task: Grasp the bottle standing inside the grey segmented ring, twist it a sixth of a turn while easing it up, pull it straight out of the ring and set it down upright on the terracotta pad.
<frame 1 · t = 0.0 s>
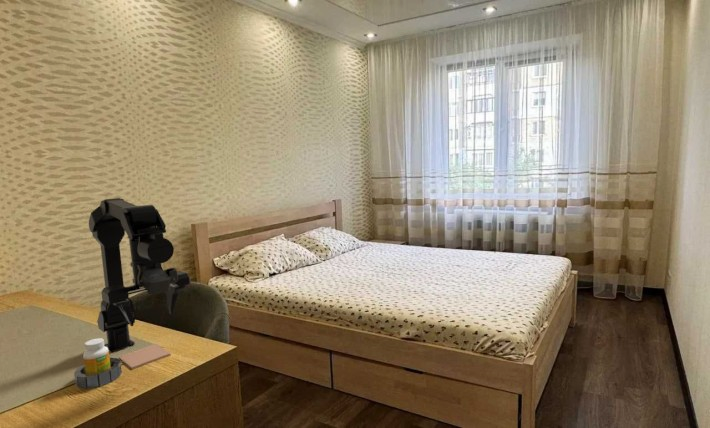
hand: (152, 319, 100), 15 cm above the table, tool pointing down, fingers open, 9 cm apart
terracotta pad: (144, 356, 113), on the table
supplement bottle: (99, 379, 103), resting in grey segmented ring
grey segmented ring: (99, 378, 103), on the table
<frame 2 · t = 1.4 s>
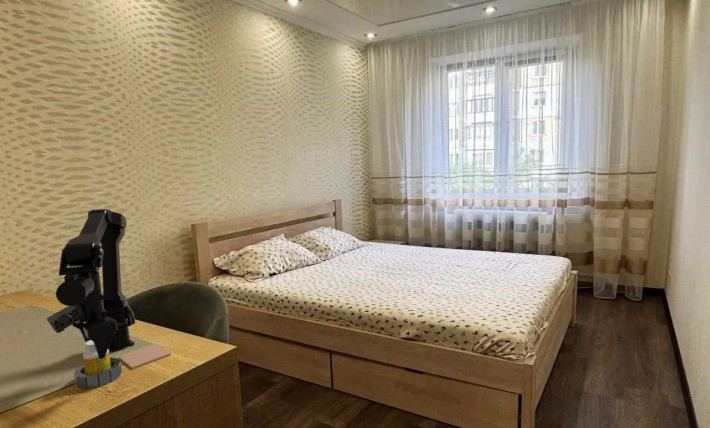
hand: (96, 353, 102), 7 cm above the table, tool pointing down, fingers open, 9 cm apart
nothing on the table moved.
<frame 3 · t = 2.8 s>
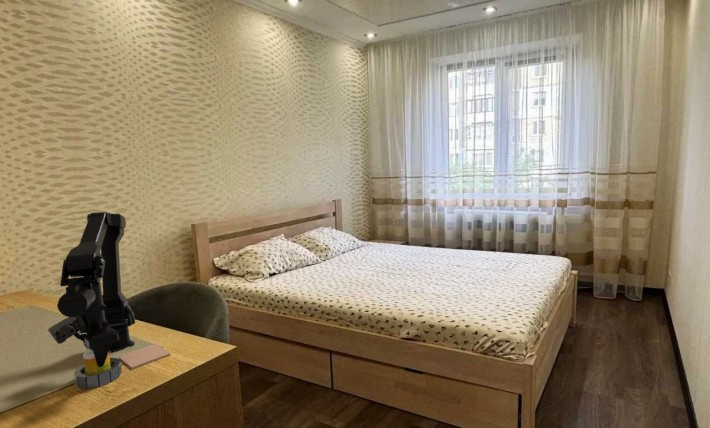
hand: (97, 363, 102), 4 cm above the table, tool pointing down, fingers closed on supplement bottle, 5 cm apart
supplement bottle: (99, 378, 103), resting in grey segmented ring, touching gripper
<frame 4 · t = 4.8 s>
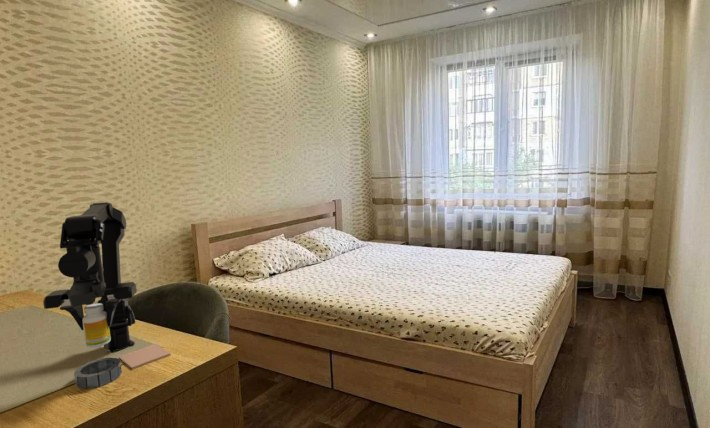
hand: (96, 327, 102), 13 cm above the table, tool pointing down, fingers closed on supplement bottle, 5 cm apart
supplement bottle: (98, 344, 102), point 9 cm above the table, touching gripper
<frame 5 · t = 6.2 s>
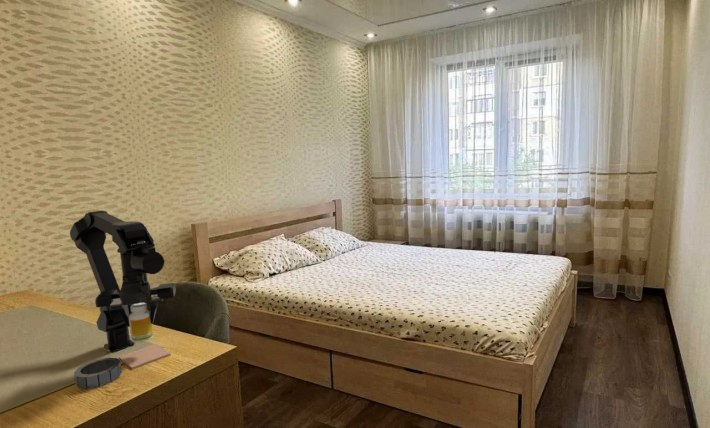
hand: (140, 324, 112), 9 cm above the table, tool pointing down, fingers closed on supplement bottle, 5 cm apart
supplement bottle: (142, 339, 113), point 5 cm above the table, touching gripper
when the fingers open (6 cm above the table, at t = 7.2 s): supplement bottle drops 1 cm, resting on terracotta pad.
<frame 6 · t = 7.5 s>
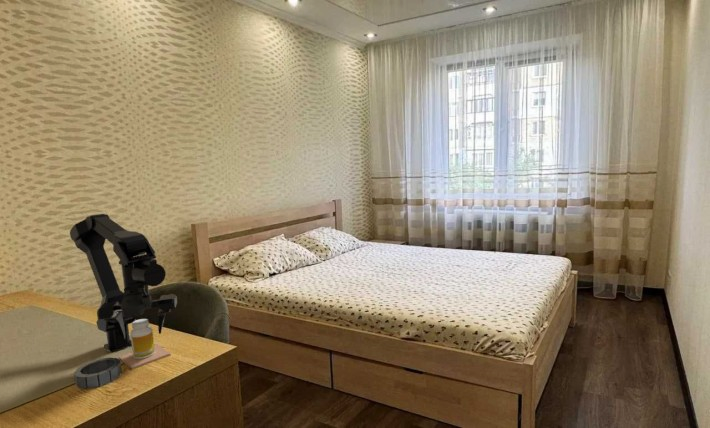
hand: (142, 336, 113), 6 cm above the table, tool pointing down, fingers open, 9 cm apart
supplement bottle: (144, 355, 113), resting on terracotta pad
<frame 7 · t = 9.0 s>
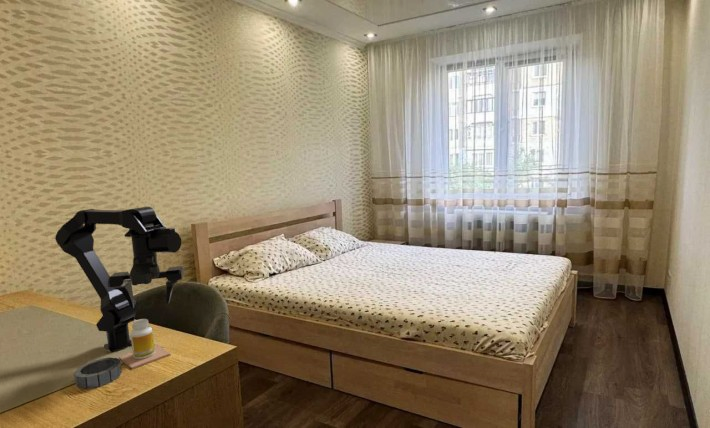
hand: (150, 305, 116), 13 cm above the table, tool pointing down, fingers open, 9 cm apart
nothing on the table moved.
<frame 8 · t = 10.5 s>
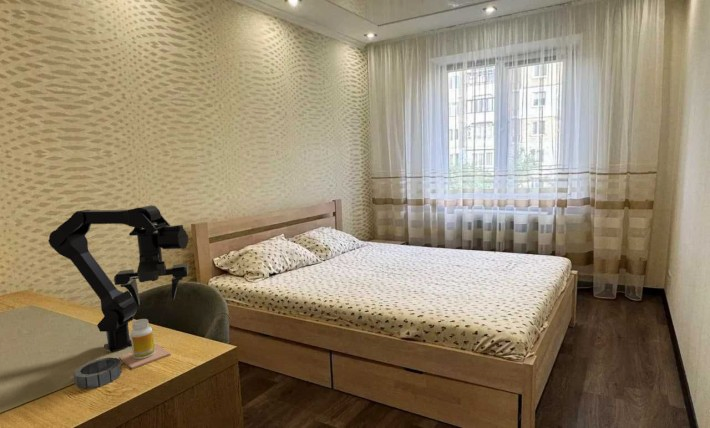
hand: (156, 302, 119), 13 cm above the table, tool pointing down, fingers open, 9 cm apart
nothing on the table moved.
at the end: supplement bottle 0.1 cm off-centre on the terracotta pad, point 0.3 cm above the terracotta pad's base; supplement bottle tilted 0°; the gripper is holding nothing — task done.
